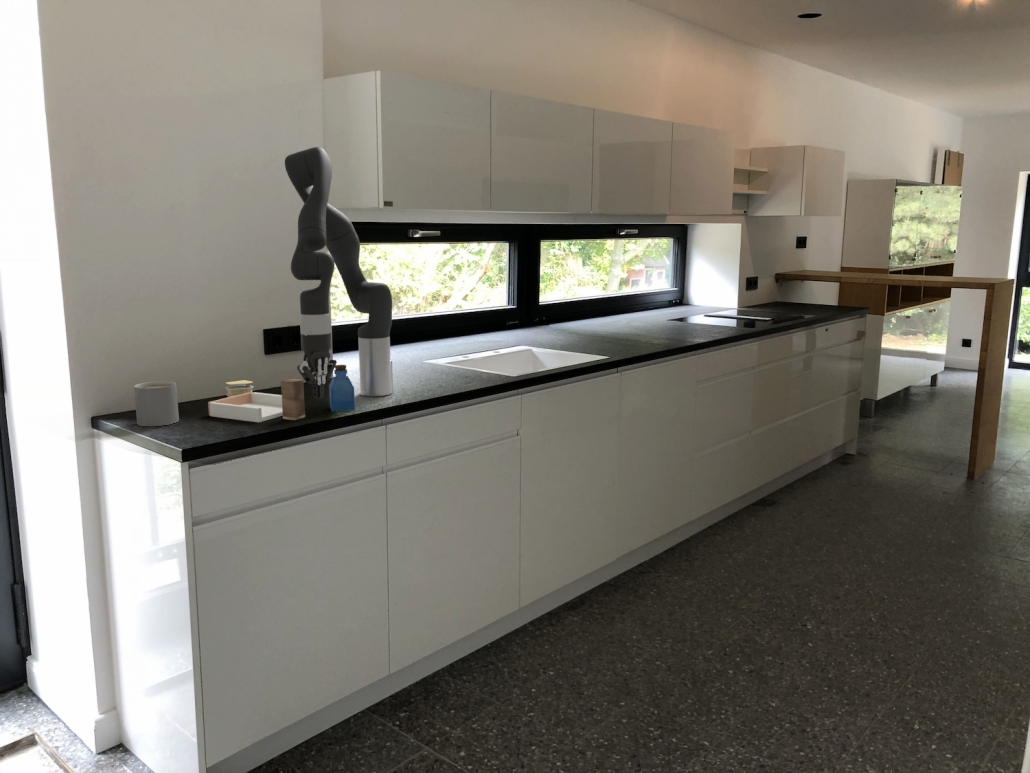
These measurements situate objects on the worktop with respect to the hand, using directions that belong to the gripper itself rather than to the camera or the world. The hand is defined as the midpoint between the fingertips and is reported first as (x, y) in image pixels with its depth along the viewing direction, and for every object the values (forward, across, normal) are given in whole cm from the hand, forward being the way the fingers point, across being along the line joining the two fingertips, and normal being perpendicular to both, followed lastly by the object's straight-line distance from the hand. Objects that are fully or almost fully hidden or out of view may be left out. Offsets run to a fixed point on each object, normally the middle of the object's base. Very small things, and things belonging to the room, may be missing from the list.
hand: (318, 398), depth 218 cm
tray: (+6, 0, -22) cm, 23 cm away
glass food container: (+6, -12, -40) cm, 42 cm away
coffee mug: (+6, +18, -37) cm, 41 cm away
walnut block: (+6, 0, -9) cm, 11 cm away
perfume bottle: (+6, -15, -5) cm, 17 cm away
